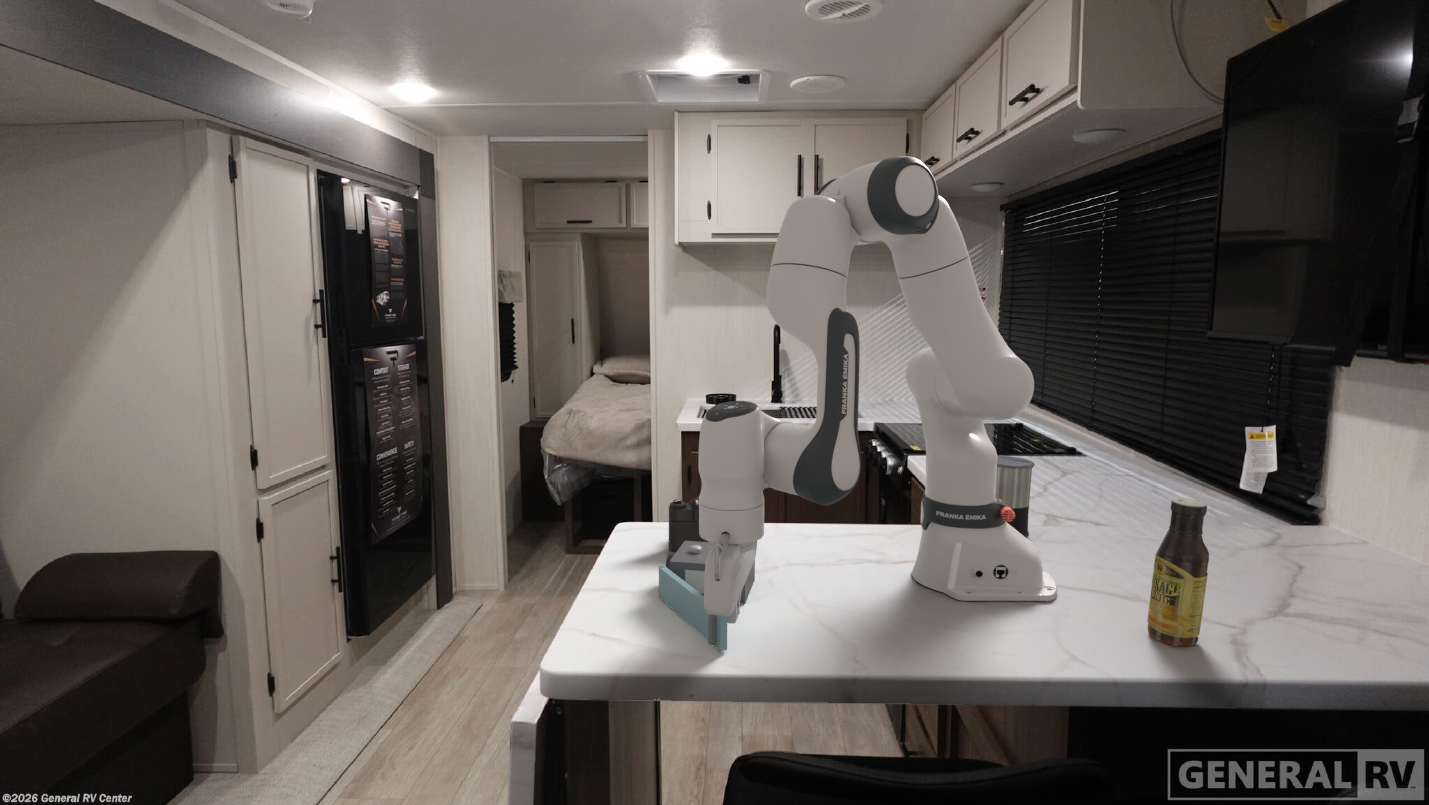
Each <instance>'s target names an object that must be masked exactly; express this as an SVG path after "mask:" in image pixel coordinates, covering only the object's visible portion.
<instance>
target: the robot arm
mask: <svg viewBox="0 0 1429 805" xmlns="http://www.w3.org/2000/svg"><path fill="white" fill-rule="evenodd" d="M881 241H882V242H883V243H884V244H885V245H886V246H887V247H888V249H889V250H890V252H891V256H892V260H893V264H894V269H895V272H896V276H897V279H898V280H897V281H898V283H899V284H898V285H899V287H900V290H901V292H902V297H903V300H904V303H905V306H906V310H907V314H908V316H909V321H910V322H911V324H912V326H913V328H915V330H917V332H918V333H919V334H920V335H921V336H922V337H923V338H924V340H925V341H926V343H927V344H928V347H924V348H922V349H921V350H919V351H917V352H916V353H915V354H914V355H913V356H912V357H911V359H910V360H909V362H908V364H907V367H906V372H905V375H906V376H905V378H906V384H907V387H908V388H909V390H910V392H911V394H912V396H913V397H914V399H915V401H916V405H917V407H918V408H917V409H918V412H919V416H920V422H921V426H922V431H923V432H922V433H923V436H924V442H925V443H924V444H925V453H926V454H925V485H924V486H925V487H924V489H925V490H924V491H925V492H923V494H922V497H921V498H922V500H921V502H920V526H921V536H920V542H919V546H918V547H919V548H918V551H917V557H916V560H915V563H914V565H913V568H912V571H911V576H912V578H913V579H914V580H915V581H916V582H918V583H919V584H920V585H922V586H925V587H927V588H929V589H932V590H935V591H937V592H941V593H944V594H946V595H948V596H949V597H951V598H953V599H955V600H958V601H965V602H966V601H967V602H968V601H971V602H973V601H975V602H976V601H978V602H980V601H983V602H985V601H986V602H987V601H989V602H995V601H997V602H999V601H1001V602H1006V601H1007V602H1009V601H1010V602H1013V601H1016V602H1024V601H1025V602H1035V601H1036V602H1042V601H1043V602H1049V601H1050V602H1051V601H1053V600H1054V599H1056V598H1057V595H1058V588H1057V584H1056V582H1055V580H1054V578H1053V577H1052V575H1050V574H1049V573H1048V572H1046V570H1044V569H1043V565H1042V560H1041V556H1040V553H1039V550H1038V549H1037V547H1036V546H1035V545H1034V543H1033V542H1032V541H1030V540H1029V539H1028V538H1027V537H1024V536H1023V535H1022V534H1021V533H1019V532H1018V531H1017V530H1016V529H1015V528H1013V527H1012V526H1011V525H1010V524H1008V523H1007V522H1010V521H1013V520H1012V519H1015V515H1014V514H1015V513H1014V512H1013V510H1012V509H1011V508H1010V507H1008V506H1007V504H1005V503H1004V502H1002V501H1001V500H1000V499H997V498H995V495H996V478H997V460H998V457H997V456H998V453H997V450H996V446H995V445H994V444H993V443H992V441H991V439H990V437H989V436H988V433H987V429H986V427H985V423H984V421H1002V420H1003V421H1004V420H1010V419H1013V418H1016V417H1017V416H1019V415H1021V414H1022V413H1023V412H1025V410H1026V409H1027V407H1028V406H1029V405H1030V402H1031V400H1032V398H1033V396H1034V392H1035V379H1034V375H1033V372H1032V370H1031V368H1030V367H1029V366H1028V365H1027V363H1026V362H1025V361H1024V360H1022V359H1021V358H1019V356H1018V355H1016V353H1014V352H1013V350H1012V349H1011V348H1010V347H1009V346H1008V344H1007V342H1006V341H1005V340H1004V338H1003V336H1002V335H1001V333H1000V331H999V329H998V328H997V326H996V325H995V323H994V321H993V320H992V318H991V316H990V314H989V312H988V311H987V308H986V306H985V302H983V299H982V296H981V295H982V294H981V293H980V289H979V286H978V283H977V280H976V275H975V272H974V270H973V265H972V262H971V258H970V254H969V251H968V248H967V244H966V242H965V238H964V235H963V232H962V230H961V229H960V225H959V223H958V220H957V218H956V217H955V214H954V212H953V210H952V209H951V207H950V205H949V203H948V202H947V201H946V199H945V198H944V197H942V196H941V195H940V193H939V188H938V185H937V182H936V179H935V177H934V174H933V173H932V171H930V169H929V167H928V166H927V165H926V164H925V163H924V162H923V161H921V159H918V158H916V157H914V156H913V157H912V156H909V155H908V156H907V155H905V156H904V155H901V156H891V157H888V158H884V159H883V160H881V161H875V162H871V163H868V164H865V165H861V166H859V167H856V168H854V169H852V170H851V171H850V172H848V173H846V174H844V175H842V176H839V177H838V178H833V179H831V180H829V181H827V182H825V183H824V184H823V185H822V186H821V187H820V188H819V189H818V190H817V191H816V192H815V193H814V194H813V195H807V196H804V197H801V198H798V199H797V200H795V201H794V202H792V204H791V205H790V206H789V207H788V209H787V210H786V213H785V216H784V218H783V221H782V223H781V226H780V229H779V233H778V236H777V238H776V242H775V245H774V246H775V247H774V249H773V253H772V258H771V263H770V268H769V274H768V278H767V285H766V294H765V295H766V296H765V297H766V306H767V309H768V311H769V314H770V316H771V318H773V320H774V322H775V323H776V324H777V325H778V326H779V327H780V328H781V329H782V330H783V331H784V332H786V333H787V334H788V335H790V336H792V337H794V338H795V339H797V340H799V341H800V342H802V343H803V344H805V345H806V346H807V347H808V348H809V349H810V351H811V352H812V354H813V355H814V357H815V360H816V364H817V390H816V391H817V392H816V413H815V414H816V415H815V416H816V417H815V422H814V424H813V425H812V426H811V425H806V424H799V423H794V422H791V421H785V420H781V419H778V418H776V417H773V416H771V415H769V414H767V413H765V412H764V411H763V410H761V409H760V406H759V405H758V404H756V403H754V402H752V401H745V400H735V401H726V402H722V403H719V404H716V405H714V406H712V407H711V408H709V409H708V410H706V411H705V414H704V416H703V418H702V422H701V425H700V430H699V440H698V474H699V476H700V479H701V480H700V481H701V490H700V492H699V495H698V496H699V535H700V537H701V538H703V539H704V540H706V541H708V546H709V548H710V549H711V550H710V552H709V553H708V555H707V558H706V564H705V578H704V609H705V612H706V613H707V614H711V615H721V616H727V624H735V623H737V620H738V618H739V615H740V613H741V608H740V606H741V604H740V599H741V592H742V589H743V587H744V585H745V582H746V580H747V578H748V575H749V573H750V571H751V568H752V566H753V564H754V561H755V562H756V556H757V549H758V548H757V547H758V541H759V540H761V539H762V538H763V537H764V536H765V496H764V493H763V492H764V490H765V489H768V488H771V489H773V490H776V491H778V492H784V493H787V494H790V495H795V496H799V497H800V498H802V499H805V500H807V501H810V502H813V503H815V504H817V505H820V506H830V505H834V504H835V503H837V502H839V501H841V500H842V499H844V498H845V497H846V496H848V495H849V494H850V493H851V492H852V491H853V489H854V488H855V487H856V486H857V484H858V482H859V479H860V476H861V471H862V454H861V446H860V440H859V439H860V438H859V398H860V397H859V393H860V385H859V384H860V364H861V363H860V360H861V358H860V350H861V348H860V347H861V345H860V330H859V326H858V323H857V320H856V317H855V316H854V315H853V314H851V312H850V311H849V308H848V303H847V292H846V291H847V284H848V276H849V270H850V262H851V261H850V260H851V255H852V252H853V250H854V248H855V246H863V245H870V244H875V243H879V242H881ZM1006 521H1007V522H1006Z"/></svg>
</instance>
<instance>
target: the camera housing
mask: <svg viewBox="0 0 1429 805" xmlns="http://www.w3.org/2000/svg"><path fill="white" fill-rule="evenodd" d="M710 550H711V549H710V548H709V546H708V542H697V541H684V542H683V544H682V545H681V547H680V548H679V549H678V551H677V552H670V551H669V553H668V555H667V557H666V562H665V567H667V568H668V569H669V570H671V571H672V572H673V573H675V574H676V575H677V576H678V577H680V578H681V579H682V580H684V581H685V582H686V583H688V584H689V585H690V586H691V587H693V588H694V589H695V590H697V591H698V592H699V593H700V594H702V595H703V596H704V578H705V564H706V558H707V555H708V553H709V552H710ZM755 565H756V560H755V561H754V564H753V566H752V568H751V571H750V573H749V575H748V578H747V580H746V582H745V585H744V587H743V589H742V592H741V599H740V605H745V604H746V603H747V600H748V598H749V596H750V593H751V590H752V588H753V585H754V583H753V582H755V580H756V579H755V578H756V576H755V574H756V568H755V567H756V566H755Z"/></svg>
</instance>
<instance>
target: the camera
mask: <svg viewBox="0 0 1429 805" xmlns="http://www.w3.org/2000/svg"><path fill="white" fill-rule="evenodd" d="M699 496H700V495H698V496H696V497H694V498H692V499H691V500H689V501H688V502H685V501H683V500H682V499H679V498H677V499H673V501H672V502H670V503H669V506H668V551H669V553H670V552H677V551H678V549H679V548H680V547H681V545H682V544H683V542H684V541H697V542H708V541H706V540H704V539H703V538H701V537H700V535H699Z"/></svg>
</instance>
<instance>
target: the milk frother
mask: <svg viewBox="0 0 1429 805" xmlns="http://www.w3.org/2000/svg"><path fill="white" fill-rule="evenodd" d="M997 457H998V460H997V478H996V495H995V498H997V499H1000V500H1001V501H1002V502H1004V503H1005V504H1007V506H1008V507H1010V508H1011V509H1012V510H1013V512H1014V513H1015V514H1014V515H1015V519H1012V520H1013V521H1010V522H1007V521H1006V522H1007V523H1008V524H1010V525H1011V526H1012V527H1013V528H1015V529H1016V530H1017V531H1018V532H1019V533H1021V534H1022V535H1023V536H1024V537H1026V538H1027V537H1028V536H1029V534H1030V533H1029V512H1030V511H1029V510H1030V499H1031V498H1030V497H1031V488H1032V487H1031V486H1032V473H1033V468H1034V466H1035V465H1036V463H1035V462H1034V461H1032V460H1031V459H1028V458H1027V459H1026V458H1023V457H1018V456H1017V457H1016V456H1008V455H997Z"/></svg>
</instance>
